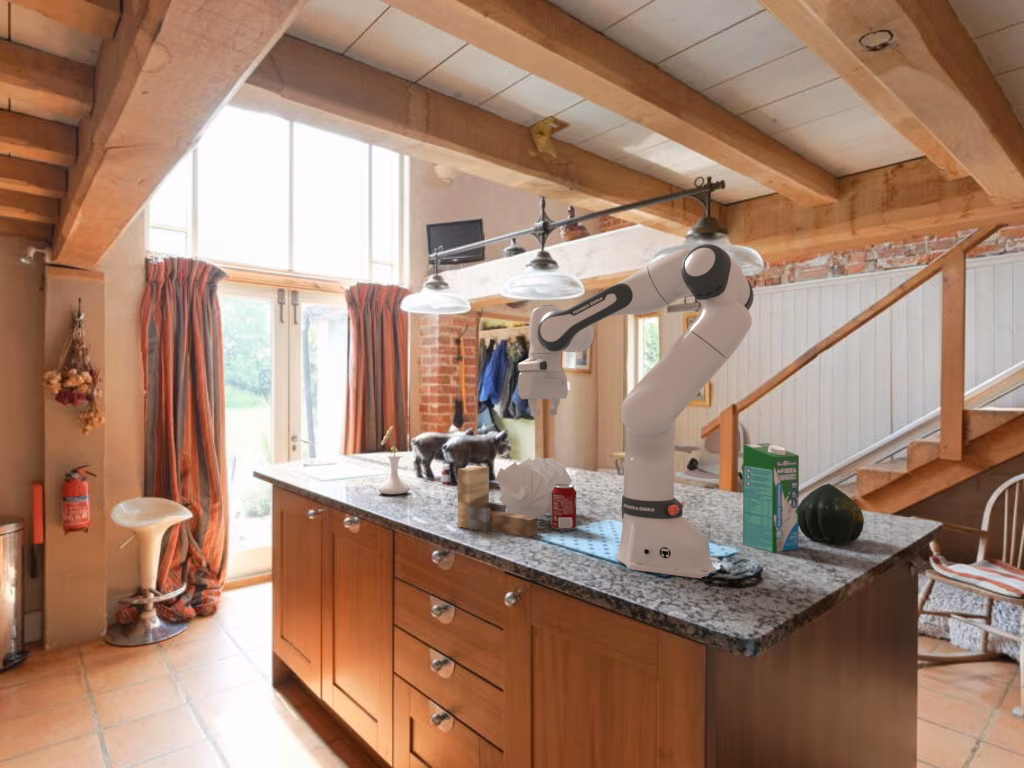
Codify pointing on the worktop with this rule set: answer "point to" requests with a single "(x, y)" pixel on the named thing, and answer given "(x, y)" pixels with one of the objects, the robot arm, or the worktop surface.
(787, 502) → the milk carton
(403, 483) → the flower in vase
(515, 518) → the wooden block
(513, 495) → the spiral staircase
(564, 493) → the soda can
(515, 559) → the worktop surface
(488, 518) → the post
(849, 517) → the squash
